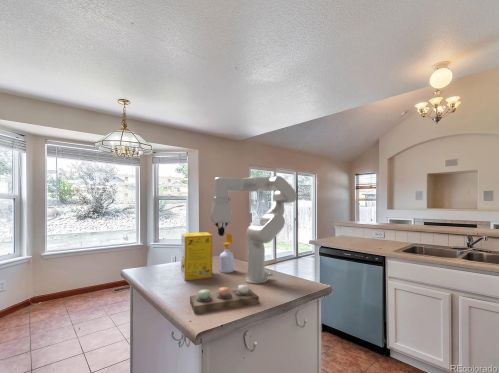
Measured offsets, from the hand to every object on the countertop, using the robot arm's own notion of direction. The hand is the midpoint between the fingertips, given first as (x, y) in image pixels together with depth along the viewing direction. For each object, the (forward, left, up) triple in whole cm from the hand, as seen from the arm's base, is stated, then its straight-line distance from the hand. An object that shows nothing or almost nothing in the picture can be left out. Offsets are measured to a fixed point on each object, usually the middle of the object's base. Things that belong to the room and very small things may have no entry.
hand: (221, 235), depth 136 cm
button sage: (+13, +20, -23) cm, 33 cm away
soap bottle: (-12, -31, -27) cm, 43 cm away
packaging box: (+8, -29, -27) cm, 41 cm away
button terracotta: (+4, +20, -23) cm, 31 cm away
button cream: (-5, +20, -23) cm, 31 cm away
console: (+4, +20, -27) cm, 34 cm away
